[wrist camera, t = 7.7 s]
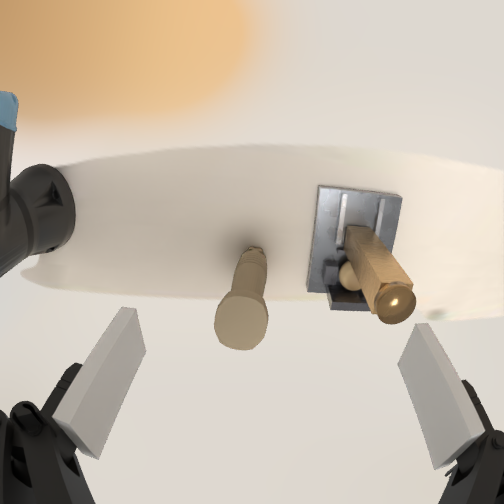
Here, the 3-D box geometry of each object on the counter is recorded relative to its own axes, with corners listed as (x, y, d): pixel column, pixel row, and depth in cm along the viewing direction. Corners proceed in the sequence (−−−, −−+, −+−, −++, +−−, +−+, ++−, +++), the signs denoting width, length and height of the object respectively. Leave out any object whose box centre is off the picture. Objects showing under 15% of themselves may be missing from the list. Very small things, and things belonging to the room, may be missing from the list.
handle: (276, 238, 39) (273, 302, 25) (267, 279, 41) (259, 353, 28) (240, 231, 39) (218, 291, 25) (233, 273, 41) (211, 344, 28)
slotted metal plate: (306, 286, 41) (309, 313, 35) (318, 185, 35) (326, 197, 29) (377, 290, 40) (390, 315, 34) (398, 195, 34) (418, 208, 28)
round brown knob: (331, 274, 38) (335, 289, 35) (346, 249, 37) (352, 263, 33) (355, 284, 39) (361, 300, 35) (370, 261, 37) (378, 275, 33)
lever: (341, 250, 36) (372, 324, 22) (345, 223, 35) (383, 287, 21) (367, 252, 36) (408, 324, 22) (372, 226, 35) (421, 289, 21)
